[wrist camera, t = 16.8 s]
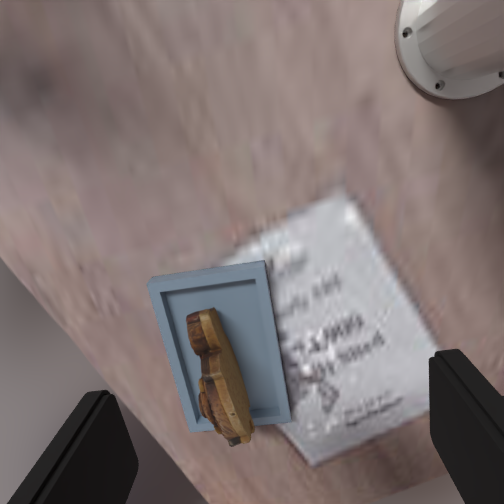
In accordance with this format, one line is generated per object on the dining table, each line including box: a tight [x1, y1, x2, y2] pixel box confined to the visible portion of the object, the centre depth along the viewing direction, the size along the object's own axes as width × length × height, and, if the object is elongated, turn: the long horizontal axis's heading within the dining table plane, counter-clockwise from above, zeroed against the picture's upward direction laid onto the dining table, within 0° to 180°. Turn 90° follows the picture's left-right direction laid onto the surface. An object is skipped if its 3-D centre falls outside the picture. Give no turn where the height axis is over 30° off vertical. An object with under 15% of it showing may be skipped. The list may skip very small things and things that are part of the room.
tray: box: [147, 260, 291, 432], centre depth 42 cm, size 13×21×2 cm, turn 10°
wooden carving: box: [186, 307, 255, 447], centre depth 37 cm, size 16×5×10 cm, turn 22°
